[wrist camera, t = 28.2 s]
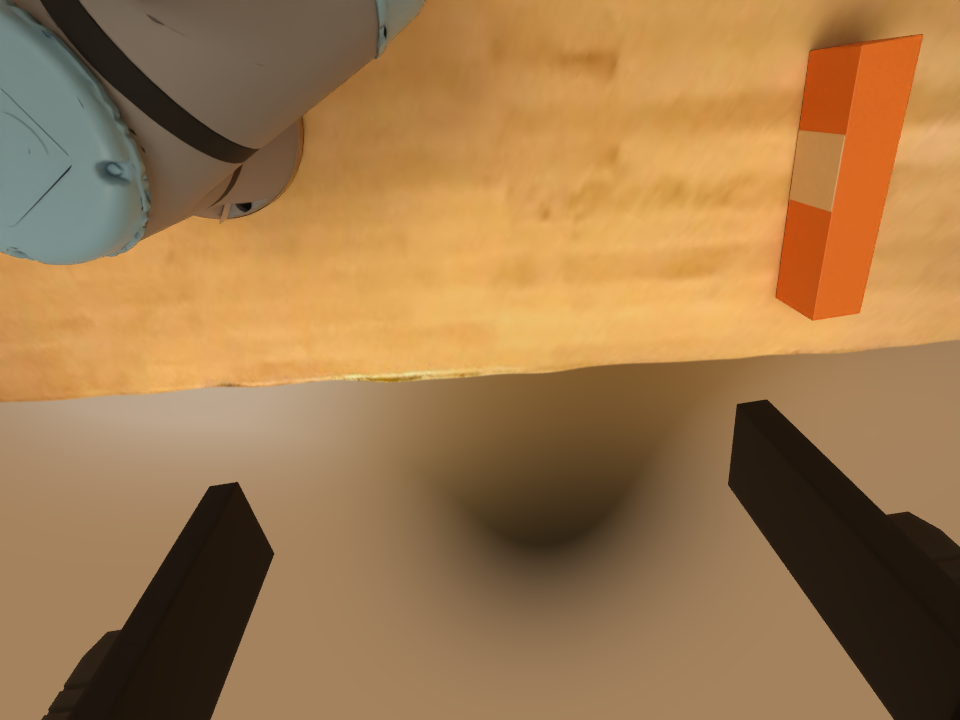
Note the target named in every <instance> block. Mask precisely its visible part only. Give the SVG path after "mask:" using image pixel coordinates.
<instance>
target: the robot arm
mask: <svg viewBox="0 0 960 720" xmlns="http://www.w3.org/2000/svg"><path fill="white" fill-rule="evenodd" d="M424 2H425V0H0V252H2V253H5V254H8V255H11V256H13V257H16V258H22V259H23V258H27V259H29V260H37V261H39V262H41V263H44V264H51V265H72V264H79V263H85V262H89V261H92V260H95V259H98V258H101V257H105V256H109V257H112V256H117V255H118V254H119V253H124V252H127V251H128V250H130V249H131V248H133V247H134V246H135V245H136V244H137V243H138V242H139V241H141V240H143V239H145V238H147V237H149V236H151V235H153V234H155V233H157V232H159V231H162V230H164V229H166V228H168V227H170V226H172V225H174V224H176V223H178V222H180V221H182V220H185V219H187V218H189V217H191V216H193V215H194V216H199V217H204V218H212V219H220V223H222V222H223V221H225V220H227V219H231V218H238V217H243V216H246V215H249V214H252V213H254V212H256V211H258V210H261V209H262V208H264V207H266V206H267V205H269V204H270V203H272V202H273V201H275V200H276V199H277V198H278V197H279V196H281V194H282V193H283V192H284V191H285V190H286V189H287V188H288V186H289V185H290V184H291V182H292V180H293V178H294V177H295V174H296V172H297V170H298V167H299V164H300V161H301V156H302V151H303V122H302V117H301V116H302V115H304V114H305V113H306V112H307V111H309V110H310V109H311V108H312V107H314V106H315V105H316V104H317V103H319V102H320V101H321V100H322V99H324V98H325V97H326V96H327V95H329V94H330V93H331V92H332V91H334V90H335V89H336V88H337V87H338V86H340V85H341V84H342V83H343V82H345V81H346V80H347V79H348V78H350V77H351V76H352V75H353V74H355V73H356V72H357V71H358V70H360V69H361V68H362V67H363V66H365V65H366V64H367V63H368V62H370V61H371V60H372V59H377V58H378V57H380V54H382V53H384V50H385V48H386V45H387V44H388V43H389V42H390V41H391V40H392V39H393V38H394V37H395V36H396V35H397V34H398V33H399V32H400V31H401V30H402V29H404V28H405V27H406V26H407V25H408V24H409V23H410V22H411V21H412V20H413V19H414V18H415V17H416V16H417V15H418V14H419V12H420V11H421V9H422V7H423V5H424ZM220 223H219V224H220ZM728 485H729V487H730V488H731V490H732V491H733V492H734V494H735V495H736V497H737V498H738V500H739V501H740V502H741V504H742V505H743V506H744V508H745V509H746V511H747V512H748V514H749V515H750V517H751V518H752V519H753V521H754V522H755V524H756V525H757V526H758V528H759V529H760V531H761V532H762V534H763V535H764V536H765V538H766V539H767V540H768V542H769V543H770V545H771V546H772V548H773V549H774V550H775V552H776V553H777V555H778V556H779V557H780V559H781V560H782V562H783V563H784V564H785V566H786V567H787V569H788V570H789V571H790V573H791V575H792V576H793V577H794V579H795V580H796V582H797V583H798V584H799V586H800V587H801V589H802V590H803V592H804V593H805V594H806V596H807V597H808V599H809V600H810V601H811V603H812V604H813V606H814V607H815V608H816V610H817V611H818V613H819V614H820V616H821V617H822V618H823V620H824V621H825V623H826V624H827V625H828V627H829V628H830V630H831V631H832V632H833V634H834V635H835V637H836V638H837V640H838V641H839V642H840V644H841V645H842V647H843V648H844V649H845V651H846V652H847V654H848V655H849V656H850V658H851V659H852V661H853V662H854V664H855V665H856V666H857V668H858V669H859V671H860V672H861V673H862V675H863V676H864V678H865V679H866V681H867V682H868V683H869V684H870V686H871V688H872V689H873V691H874V692H875V693H876V695H877V696H878V698H879V699H880V700H881V702H882V703H883V705H884V706H885V707H886V709H887V710H888V712H889V713H890V714H891V716H892V717H893V719H894V720H960V547H959V546H958V545H957V544H956V543H955V542H954V541H952V540H951V539H950V538H949V537H948V536H947V535H946V534H945V533H944V532H943V531H941V530H940V529H938V528H936V527H935V526H933V525H931V524H929V523H928V522H926V521H924V520H922V519H920V518H919V517H917V516H915V515H913V514H911V513H910V512H902V513H895V514H889V515H886V514H885V513H884V512H883V511H881V510H880V509H879V508H878V507H877V506H876V505H875V504H874V503H873V502H872V501H871V500H870V499H869V498H868V497H867V496H866V495H865V494H864V493H863V492H862V491H861V490H860V489H859V488H857V486H855V484H854V483H853V482H852V481H851V480H850V479H849V478H847V477H846V476H845V475H844V474H843V473H842V472H841V471H840V470H839V469H838V468H837V467H836V466H835V465H834V464H833V463H832V462H831V461H830V460H829V459H828V458H827V457H826V456H825V455H823V453H822V452H821V451H820V450H819V449H818V448H817V447H816V446H814V445H813V444H812V443H811V442H810V441H809V440H808V439H807V438H806V437H805V436H804V435H803V434H802V433H801V432H800V431H799V430H798V429H797V428H796V427H795V426H794V425H793V424H792V423H791V422H790V421H789V420H788V419H787V418H786V417H784V415H782V414H781V413H780V412H779V411H778V410H777V409H776V408H775V407H774V406H773V405H772V404H771V403H770V402H769V401H768V400H760V401H754V402H747V403H742V404H737V409H736V417H735V426H734V436H733V445H732V454H731V463H730V473H729V482H728ZM273 555H274V552H273V550H272V548H271V546H270V544H269V542H268V540H267V538H266V537H265V534H264V533H263V530H262V528H261V527H260V525H259V523H258V521H257V519H256V517H255V515H254V513H253V511H252V509H251V507H250V505H249V503H248V501H247V499H246V497H245V495H244V493H243V491H242V489H241V487H240V485H239V483H238V482H235V483H228V484H222V485H216V486H210V487H209V488H208V490H207V491H206V493H205V495H204V496H203V498H202V500H201V501H200V503H199V504H198V507H197V508H196V509H195V511H194V513H193V514H192V516H191V518H190V519H189V521H188V522H187V524H186V526H185V527H184V529H183V530H182V532H181V534H180V535H179V537H178V539H177V540H176V542H175V544H174V545H173V547H172V549H171V550H170V552H169V553H168V555H167V556H166V558H165V560H164V561H163V563H162V565H161V566H160V568H159V570H158V571H157V573H156V574H155V576H154V578H153V579H152V581H151V583H150V584H149V586H148V587H147V589H146V591H145V592H144V594H143V595H142V597H141V599H140V600H139V602H138V604H137V605H136V607H135V608H134V610H133V612H132V613H131V615H130V617H129V618H128V620H127V622H126V623H125V625H124V626H123V628H122V630H117V631H111V632H107V633H106V634H105V635H104V636H103V637H102V638H101V639H100V640H99V641H98V642H97V643H96V644H95V645H94V646H93V647H92V648H91V649H90V650H89V651H88V652H87V653H86V654H85V655H84V657H82V659H81V660H80V662H79V663H78V665H77V666H76V668H75V669H74V671H73V673H72V674H71V676H70V677H69V679H68V680H67V682H66V683H65V685H64V690H63V691H61V692H59V694H58V695H57V697H56V698H55V700H54V702H53V703H52V705H51V706H50V708H49V709H48V710H49V713H48V714H47V715H45V716H44V717H43V718H42V720H210V719H211V717H212V714H213V712H214V709H215V706H216V704H217V701H218V698H219V696H220V693H221V691H222V688H223V686H224V683H225V680H226V678H227V675H228V673H229V670H230V667H231V665H232V662H233V660H234V657H235V654H236V652H237V649H238V646H239V644H240V641H241V639H242V636H243V634H244V631H245V628H246V626H247V623H248V621H249V618H250V615H251V613H252V610H253V608H254V605H255V603H256V600H257V597H258V595H259V592H260V590H261V587H262V584H263V582H264V579H265V577H266V574H267V571H268V569H269V566H270V564H271V561H272V558H273Z"/></svg>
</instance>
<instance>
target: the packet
mask: <svg viewBox="0 0 960 720" xmlns="http://www.w3.org/2000/svg"><path fill="white" fill-rule="evenodd" d="M922 38H923V34H919V35H911V36H903V37H895V38H888V39H880V40H872V41H864V42H858V43H852V44H847V45H841V46H835V47H829V48H824V49H818V50H812V51H810V54H809V61H808V69H807V76H806V83H805V90H804V97H803V105H802V112H801V119H800V126H799V132H798V139H797V147H796V154H795V161H794V168H793V176H792V183H791V190H790V197H789V206H788V213H787V220H786V228H785V235H784V242H783V249H782V256H781V264H780V271H779V278H778V285H777V293H776V298H777V299H779V300H780V301H782V302H784V303H785V304H787V305H788V306H790V307H792V308H793V309H795V310H796V311H798V312H800V313H801V314H803V315H804V316H806V317H808V318H809V319H811V320H813V321H814V320H820V319H826V318H832V317H839V316H845V315H851V314H858V313H860V310H861V305H862V301H863V297H864V292H865V288H866V283H867V279H868V275H869V270H870V266H871V262H872V257H873V253H874V248H875V244H876V240H877V235H878V231H879V226H880V222H881V218H882V213H883V209H884V204H885V200H886V196H887V192H888V187H889V183H890V179H891V174H892V170H893V165H894V161H895V157H896V152H897V148H898V143H899V139H900V135H901V130H902V125H903V121H904V117H905V112H906V108H907V104H908V99H909V95H910V90H911V86H912V82H913V77H914V73H915V68H916V64H917V60H918V55H919V51H920V46H921V42H922Z"/></svg>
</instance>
